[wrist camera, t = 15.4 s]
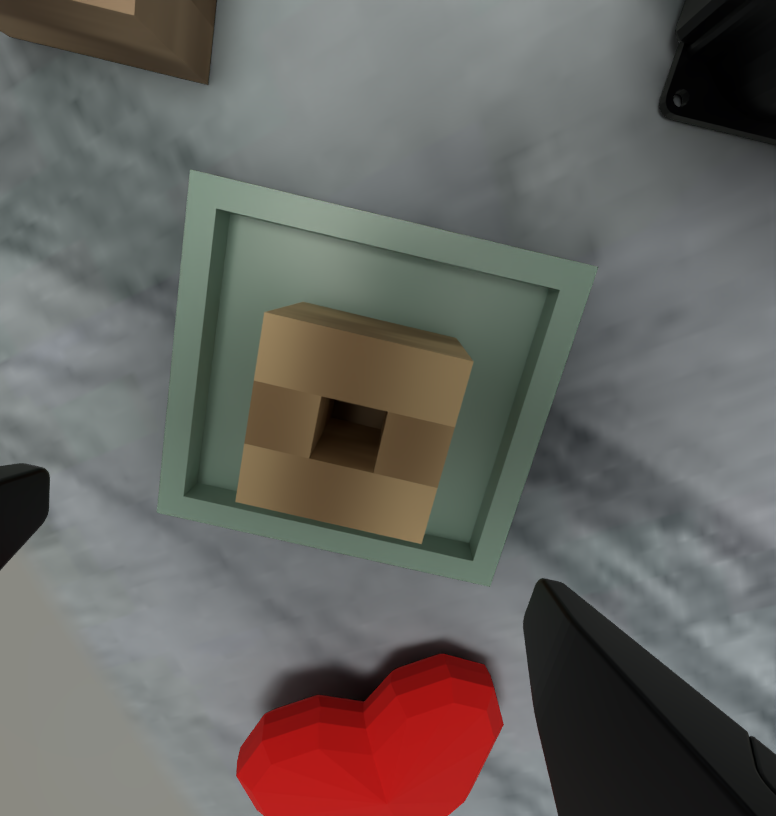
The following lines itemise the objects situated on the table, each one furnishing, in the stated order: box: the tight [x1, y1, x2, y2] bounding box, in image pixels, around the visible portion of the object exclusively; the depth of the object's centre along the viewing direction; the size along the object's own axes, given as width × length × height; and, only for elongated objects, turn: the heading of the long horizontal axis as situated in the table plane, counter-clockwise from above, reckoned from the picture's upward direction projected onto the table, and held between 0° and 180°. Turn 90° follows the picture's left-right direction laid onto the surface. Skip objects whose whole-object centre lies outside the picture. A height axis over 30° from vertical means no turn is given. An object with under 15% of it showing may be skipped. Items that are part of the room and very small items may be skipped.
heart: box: [236, 654, 504, 816], centre depth 22 cm, size 12×4×10 cm
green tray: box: [157, 170, 598, 587], centre depth 18 cm, size 14×13×2 cm
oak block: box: [235, 302, 474, 544], centre depth 16 cm, size 6×6×5 cm
